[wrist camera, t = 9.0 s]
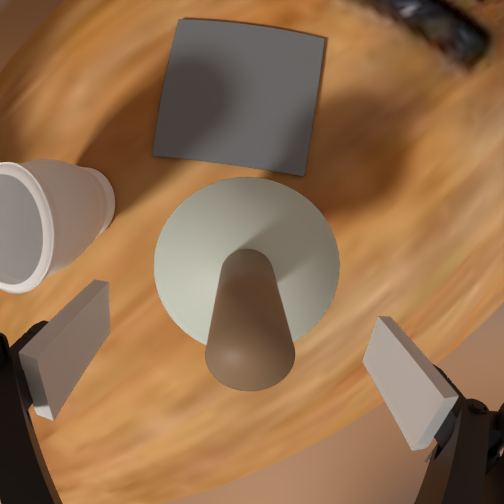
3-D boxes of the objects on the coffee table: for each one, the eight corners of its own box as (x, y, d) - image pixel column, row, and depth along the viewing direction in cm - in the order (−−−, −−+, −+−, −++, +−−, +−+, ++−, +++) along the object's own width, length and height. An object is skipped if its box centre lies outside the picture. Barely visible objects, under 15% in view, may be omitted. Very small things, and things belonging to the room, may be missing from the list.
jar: (99, 140, 31) (17, 133, 17) (141, 219, 34) (77, 257, 19) (37, 190, 32) (-49, 210, 18) (75, 262, 35) (1, 313, 20)
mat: (153, 155, 32) (152, 155, 31) (179, 21, 28) (178, 19, 27) (303, 176, 33) (304, 176, 32) (323, 40, 29) (324, 38, 28)
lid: (154, 334, 24) (109, 432, 14) (166, 165, 21) (97, 170, 10) (314, 354, 25) (348, 456, 14) (352, 194, 22) (438, 224, 11)
